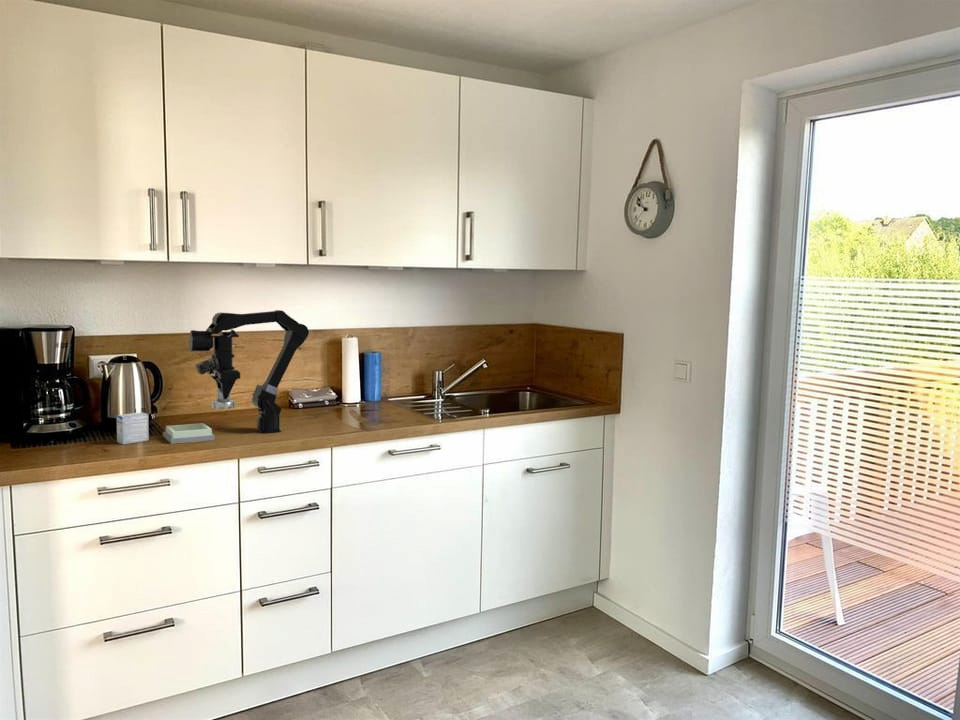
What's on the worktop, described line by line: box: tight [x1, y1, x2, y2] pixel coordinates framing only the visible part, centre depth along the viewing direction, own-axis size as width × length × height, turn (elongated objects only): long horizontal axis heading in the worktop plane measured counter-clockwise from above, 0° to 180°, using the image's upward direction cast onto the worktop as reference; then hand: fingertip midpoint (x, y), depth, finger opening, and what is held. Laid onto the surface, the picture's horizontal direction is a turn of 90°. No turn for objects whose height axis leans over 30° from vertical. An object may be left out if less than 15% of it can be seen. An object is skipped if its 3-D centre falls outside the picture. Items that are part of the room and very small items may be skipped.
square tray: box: [162, 422, 216, 445], centre depth 226 cm, size 13×13×4 cm
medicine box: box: [116, 412, 149, 445], centre depth 219 cm, size 8×4×9 cm, turn 141°
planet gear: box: [211, 388, 236, 410], centre depth 232 cm, size 7×7×6 cm
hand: (223, 398), depth 232 cm, fingers closed on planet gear, 4 cm apart
